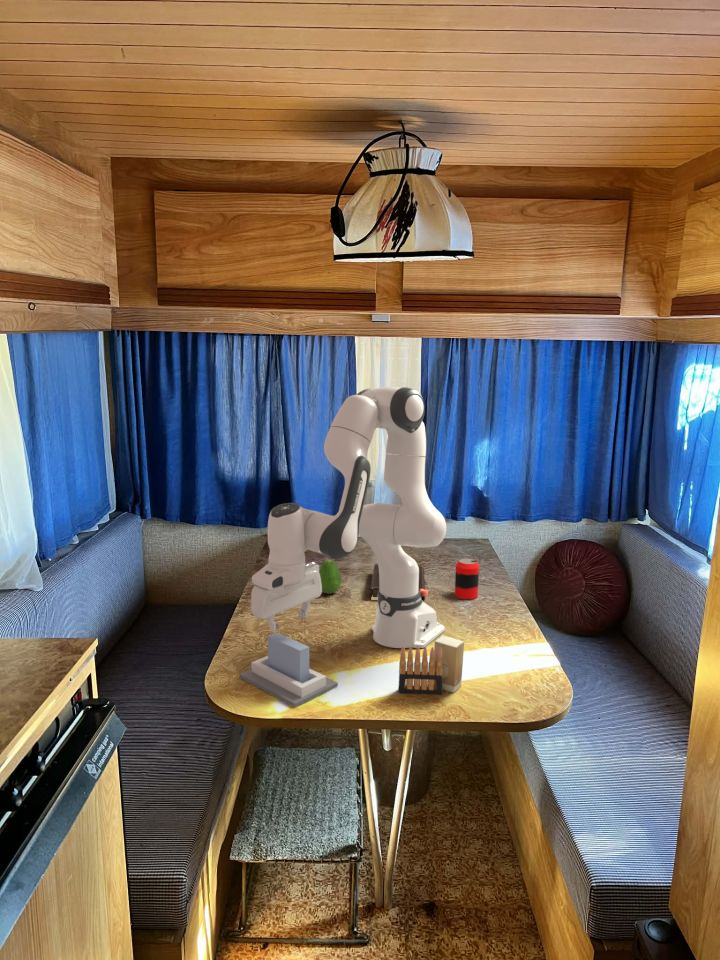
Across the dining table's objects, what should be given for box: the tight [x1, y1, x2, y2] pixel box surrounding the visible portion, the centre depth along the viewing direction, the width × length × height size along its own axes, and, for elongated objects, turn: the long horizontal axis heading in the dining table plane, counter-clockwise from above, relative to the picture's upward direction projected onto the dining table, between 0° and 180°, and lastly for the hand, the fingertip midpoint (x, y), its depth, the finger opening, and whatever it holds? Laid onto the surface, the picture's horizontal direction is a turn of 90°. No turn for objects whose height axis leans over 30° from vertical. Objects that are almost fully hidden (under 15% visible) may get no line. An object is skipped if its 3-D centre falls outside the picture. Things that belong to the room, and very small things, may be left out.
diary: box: [369, 562, 426, 602], centre depth 246 cm, size 19×25×5 cm
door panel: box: [267, 632, 310, 684], centre depth 180 cm, size 3×12×10 cm, turn 47°
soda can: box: [454, 558, 480, 600], centre depth 239 cm, size 8×8×12 cm
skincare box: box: [433, 634, 465, 693], centre depth 179 cm, size 6×4×12 cm
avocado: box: [319, 558, 342, 595], centre depth 240 cm, size 8×8×12 cm
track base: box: [239, 655, 339, 708], centre depth 181 cm, size 14×21×4 cm, turn 47°
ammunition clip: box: [397, 646, 443, 696], centre depth 176 cm, size 11×2×12 cm, turn 86°
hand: (288, 623), depth 178 cm, fingers open, 8 cm apart
